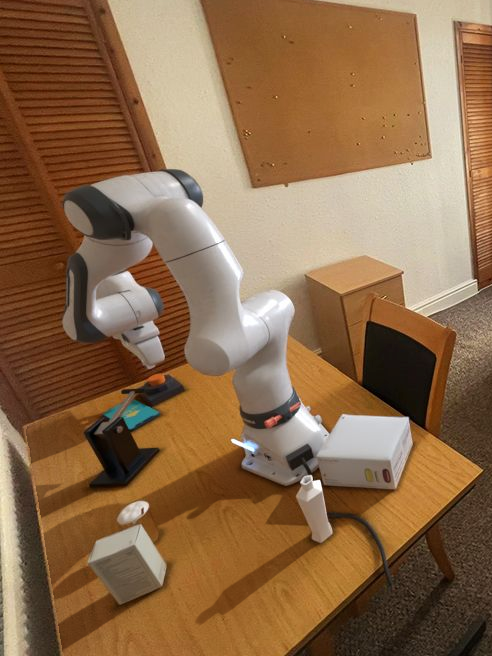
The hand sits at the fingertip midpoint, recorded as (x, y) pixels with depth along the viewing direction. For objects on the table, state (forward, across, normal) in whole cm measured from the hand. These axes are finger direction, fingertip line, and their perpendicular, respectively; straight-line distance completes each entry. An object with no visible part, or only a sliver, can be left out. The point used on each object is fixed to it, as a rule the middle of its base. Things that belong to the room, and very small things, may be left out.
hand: (149, 366), depth 117 cm
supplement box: (+9, +75, +15) cm, 77 cm away
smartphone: (+10, +5, -8) cm, 13 cm away
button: (+6, 0, 0) cm, 6 cm away
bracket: (+9, +26, -16) cm, 32 cm away
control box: (+10, 0, 0) cm, 10 cm away
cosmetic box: (+9, +61, -24) cm, 66 cm away
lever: (-3, +23, -12) cm, 26 cm away
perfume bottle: (+9, +80, -1) cm, 81 cm away
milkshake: (+9, +52, -20) cm, 57 cm away
